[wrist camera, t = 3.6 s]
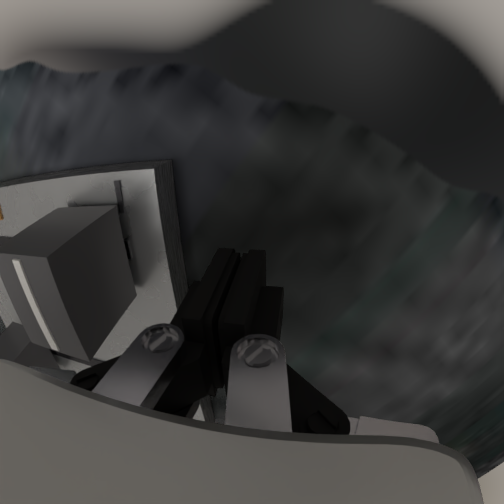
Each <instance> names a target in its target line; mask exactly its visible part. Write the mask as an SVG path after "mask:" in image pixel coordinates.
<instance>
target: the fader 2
mask: <svg viewBox="0 0 504 504" xmlns="http://www.w3.org/2000/svg"><path fill="white" fill-rule="evenodd" d="M0 276H1V279H2V281H3V284H4V286H5V288H6V291H7V293H8V295H9V298H10V300H11V302H12V304H13V306H14V308H15V311H16V313H17V315H18V317H19V319H20V321H21V323H22V325H23V327H24V329H25V331H26V333H27V334H28V336H29V338H30V340H31V342H32V343H34V344H37V345H40V346H43V347H45V348H48V349H51V350H54V351H57V352H60V353H63V354H66V355H69V356H72V357H76V358H79V359H82V360H86V361H89V362H90V361H91V360H92V358H93V357H94V355H95V354H96V352H97V351H98V349H99V348H100V347H101V345H102V344H103V342H104V341H105V339H106V338H107V336H108V335H109V334H110V332H111V331H112V329H113V328H114V327H115V325H116V324H117V322H118V321H119V320H120V318H121V317H122V315H123V314H124V313H125V311H126V310H127V309H128V307H129V306H130V304H131V303H132V302H133V300H134V299H135V298H136V296H137V293H136V289H135V286H134V282H133V278H132V274H131V270H130V266H129V262H128V257H127V253H126V249H125V244H124V239H123V235H122V230H121V225H120V220H119V215H118V209H117V205H111V206H83V207H62V208H57V209H55V210H54V211H52V212H50V213H49V214H47V215H45V216H44V217H42V218H41V219H39V220H38V221H36V222H34V223H33V224H31V225H30V226H28V227H27V228H25V229H24V230H22V231H21V232H19V233H18V234H16V235H15V236H13V237H12V238H10V239H9V240H8V241H6V242H5V243H3V244H2V245H1V246H0Z"/></svg>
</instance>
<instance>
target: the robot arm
mask: <svg viewBox="0 0 504 504" xmlns="http://www.w3.org/2000/svg"><path fill="white" fill-rule="evenodd" d="M283 295H284V288H283V287H273V286H266V253H265V250H249V252H248V253H244V254H243V256H242V258H240V253H235V250H234V249H228V248H219V249H218V250H217V252H216V254H215V256H214V257H213V259H212V261H211V263H210V265H209V267H208V268H207V270H206V272H205V274H204V276H203V278H202V280H201V281H194V282H193V283H192V285H191V286H190V288H189V290H188V292H187V294H186V295H185V297H184V299H183V301H182V302H181V304H180V306H179V308H178V310H177V311H176V313H175V315H174V317H173V319H172V320H171V322H170V324H167V323H161V324H155V325H152V326H149V327H148V328H146V329H144V330H143V331H142V332H141V333H140V334H139V335H138V336H137V337H136V339H135V340H134V341H133V342H132V343H131V344H130V346H129V347H128V348H127V349H126V350H125V352H124V353H123V354H122V355H120V356H117V357H115V358H112V359H110V360H107V361H104V362H102V363H99V364H97V365H94V366H91V367H89V368H86V369H84V370H82V371H80V372H78V373H76V372H75V371H73V370H63V369H54V368H46V367H38V366H30V367H26V366H24V365H21V364H18V363H15V362H12V361H8V360H5V359H0V504H484V503H483V498H482V493H481V489H480V486H479V482H478V479H477V476H476V474H475V471H474V469H473V467H472V465H471V464H470V462H469V461H468V460H467V459H466V457H465V456H463V455H462V454H461V453H459V452H458V451H456V450H454V449H451V448H449V447H447V446H444V445H441V444H439V442H438V437H437V436H436V434H435V432H434V431H433V430H431V429H430V428H429V427H426V426H422V425H416V424H408V423H401V422H394V421H387V420H381V419H375V418H369V417H364V416H360V417H359V419H356V418H351V417H347V415H346V414H345V413H344V412H343V411H342V410H341V409H340V408H339V407H337V406H336V405H335V404H334V403H333V402H331V401H330V400H329V399H328V398H326V397H325V396H324V395H323V394H322V393H320V392H319V391H318V390H317V389H316V388H314V387H313V386H312V385H311V384H310V383H309V382H307V381H306V380H305V379H304V378H303V377H301V376H300V375H299V374H298V373H297V372H296V371H294V370H293V369H292V368H291V367H290V366H289V365H288V364H286V356H285V350H284V346H283V345H282V344H281V342H280V334H281V326H282V315H283ZM224 384H225V390H226V396H227V403H226V416H225V425H224V424H218V423H212V422H206V421H201V420H195V419H193V417H194V415H195V413H196V412H197V410H198V408H199V405H200V399H202V398H204V397H206V396H207V395H209V396H215V395H216V392H217V389H218V388H223V386H224Z"/></svg>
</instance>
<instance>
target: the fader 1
mask: <svg viewBox="0 0 504 504" xmlns="http://www.w3.org/2000/svg"><path fill="white" fill-rule="evenodd" d="M0 359H5V360H8V361H12V362H15V363H18V364H21V365H24V366H26V367H30V366H38V367H46V368H54V369H60V367H59V365H58V363H57V362H56V360H55V358H54V357H53V355H52V353H51V351H50V349H48V348H45V347H43V346H40V345H37V344H34V343H32V342H31V340H30V338H29V336H28V334H27V333H26V331H25V329H24V327H23V325H22V324H19V323H16V322H12V323H11V324H10V325H9V326H8V327H7V328H6V329H5V330H4V331H3V332H2V334H1V335H0Z"/></svg>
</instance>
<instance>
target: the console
mask: <svg viewBox="0 0 504 504" xmlns="http://www.w3.org/2000/svg"><path fill="white" fill-rule="evenodd" d="M111 205H117V209H118V215H119V220H120V225H121V230H122V235H123V239H124V244H125V249H126V253H127V257H128V262H129V266H130V270H131V274H132V278H133V282H134V286H135V289H136V293H137V296H136V298H135V299H134V300H133V302H132V303H131V304H130V306H129V307H128V309H127V310H126V311H125V313H124V314H123V315H122V317H121V318H120V320H119V321H118V322H117V324H116V325H115V327H114V328H113V329H112V331H111V332H110V334H109V335H108V336H107V338H106V339H105V341H104V342H103V344H102V345H101V347H100V348H99V349H98V351H97V352H96V354H95V355H94V357H93V358H92V360H91V361H90V362H89V361H86V360H82V359H79V358H76V357H72V356H69V355H66V354H63V353H60V352H57V351H54V350H51V349H50V351H51V353H52V355H53V357H54V358H55V360H56V362H57V363H58V365H59V367H60V369H63V370H73V371H75V372H76V373H78V372H80V371H82V370H84V369H86V368H89V367H91V366H94V365H97V364H99V363H102V362H104V361H107V360H110V359H112V358H115V357H117V356H120V355H122V354H123V353H124V352H125V350H126V349H127V348H128V347H129V346H130V344H131V343H132V342H133V341H134V340H135V339H136V337H137V336H138V335H139V334H140V333H141V332H142V331H143V330H144V329H146V328H148V327H149V326H152V325H155V324H161V323H167V324H170V322H171V320H172V319H173V317H174V315H175V313H176V311H177V310H178V308H179V306H180V304H181V302H182V301H183V299H184V297H185V295H186V294H187V292H188V290H189V289H188V283H187V276H186V270H185V263H184V257H183V250H182V243H181V236H180V228H179V221H178V213H177V204H176V196H175V187H174V178H173V168H172V159H171V160H156V161H143V162H131V163H121V164H111V165H102V166H94V167H86V168H78V169H71V170H64V171H58V172H51V173H45V174H39V175H34V176H28V177H23V178H18V179H13V180H8V181H3V182H0V246H1V245H2V244H3V243H5V242H6V241H8V240H9V239H10V238H12V237H13V236H15V235H16V234H18V233H19V232H21V231H22V230H24V229H25V228H27V227H28V226H30V225H31V224H33V223H34V222H36V221H38V220H39V219H41V218H42V217H44V216H45V215H47V214H49V213H50V212H52V211H54V210H55V209H57V208H62V207H83V206H111ZM0 316H1V318H2V320H3V322H4V324H5V326H6V328H7V327H8V326H9V325H10V324H11V323H12V322H16V323H19V324H22V323H21V321H20V319H19V317H18V315H17V313H16V311H15V308H14V306H13V304H12V302H11V300H10V298H9V295H8V293H7V291H6V288H5V286H4V284H3V281H2V279H1V276H0ZM193 419H195V420H201V421H206V422H212V423H214V422H215V417H214V413H213V409H212V404H211V400H210V396H209V395H207V396H206V397H204V398H202V399H200V405H199V408H198V410H197V412H196V413H195V415H194V417H193Z"/></svg>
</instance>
